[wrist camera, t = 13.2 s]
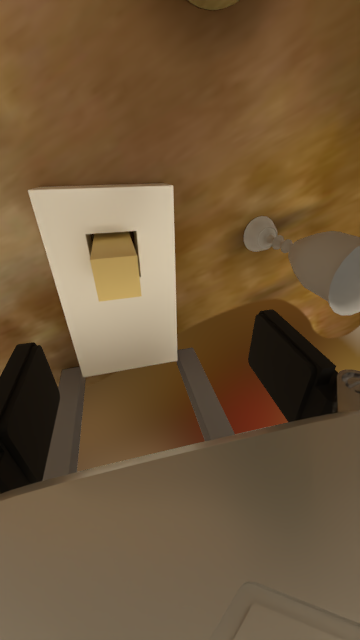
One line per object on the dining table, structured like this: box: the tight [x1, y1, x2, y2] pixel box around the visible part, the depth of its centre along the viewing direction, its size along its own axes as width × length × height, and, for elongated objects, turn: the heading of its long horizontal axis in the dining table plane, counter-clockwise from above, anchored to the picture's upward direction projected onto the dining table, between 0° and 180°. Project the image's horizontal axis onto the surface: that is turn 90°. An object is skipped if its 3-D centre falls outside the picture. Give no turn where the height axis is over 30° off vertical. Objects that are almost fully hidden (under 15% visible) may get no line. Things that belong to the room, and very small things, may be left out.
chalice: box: [244, 216, 360, 315], centre depth 29 cm, size 7×7×18 cm
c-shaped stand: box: [42, 348, 235, 481], centre depth 27 cm, size 13×22×32 cm, turn 91°
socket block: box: [28, 183, 178, 377], centre depth 33 cm, size 24×14×5 cm, turn 1°
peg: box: [90, 231, 142, 302], centre depth 28 cm, size 4×4×12 cm
